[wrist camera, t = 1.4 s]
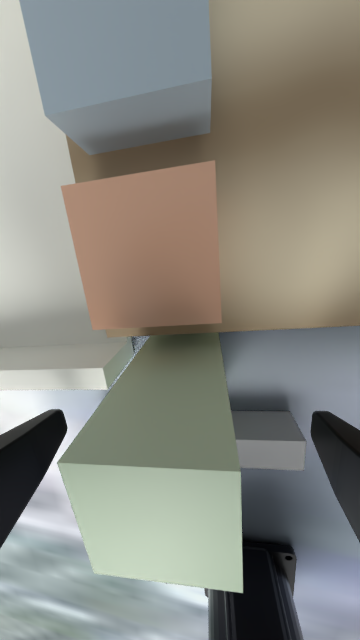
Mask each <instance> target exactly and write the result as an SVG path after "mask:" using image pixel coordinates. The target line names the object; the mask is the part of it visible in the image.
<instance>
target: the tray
mask: <svg viewBox="0 0 360 640" xmlns="http://www.w3.org/2000/svg"><path fill="white" fill-rule="evenodd" d="M69 184H75V178H74V173H73V169H72V164H71V159H70V154H69V149H68V144H67V139H66V134H65V133H64V132H63V131H62V130H60V129H59V128H58V127H57V126H56V125H55V124H54V123H53V122H51V121H50V120H49V119H48V118H47V117H46V116H45V114H44V109H43V105H42V100H41V96H40V92H39V87H38V83H37V78H36V74H35V69H34V65H33V60H32V56H31V51H30V47H29V42H28V38H27V33H26V29H25V24H24V20H23V15H22V11H21V6H20V2H19V0H0V390H108V388H109V387H110V386H111V384H112V383H113V382H114V380H115V379H116V378H117V376H118V375H119V374H120V372H121V371H122V370H123V368H124V367H125V366H126V364H127V363H128V362H129V361H130V359H131V358H132V357H133V355H134V351H133V345H132V339H131V336H130V337H109V338H107V334H106V330H105V329H103V330H93V329H92V325H91V320H90V316H89V311H88V307H87V302H86V298H85V293H84V289H83V284H82V280H81V275H80V271H79V266H78V262H77V257H76V253H75V248H74V244H73V239H72V235H71V231H70V226H69V222H68V217H67V213H66V208H65V204H64V199H63V195H62V190H61V186H63V185H69Z"/></svg>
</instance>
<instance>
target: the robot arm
mask: <svg viewBox="0 0 360 640" xmlns="http://www.w3.org/2000/svg"><path fill="white" fill-rule="evenodd" d="M66 432H67V424H66V420H65V417H64V414H63V411H62V410H60V409H51V410H48V411H46V412H44V413H42V414H40V415H38V416H36V417H35V418H33V419H31V420H29V421H27V422H25V423H23V424H21V425H19V426H17V427H15V428H13V429H11V430H9V431H7V432H6V433H4V434H2V435H0V548H1V547H2V545H3V543H4V542H5V540H6V538H7V537H8V535H9V533H10V532H11V530H12V529H13V527H14V525H15V524H16V522H17V520H18V519H19V517H20V515H21V514H22V512H23V510H24V509H25V507H26V506H27V504H28V502H29V501H30V499H31V497H32V496H33V494H34V492H35V491H36V489H37V488H38V486H39V484H40V482H41V481H42V479H43V477H44V476H45V474H46V472H47V470H48V468H49V466H50V464H51V462H52V460H53V458H54V456H55V454H56V452H57V450H58V448H59V446H60V445H61V443H62V441H63V439H64V437H65V435H66ZM311 437H312V440H313V442H314V445H315V447H316V450H317V452H318V455H319V457H320V459H321V462H322V464H323V467H324V469H325V472H326V474H327V476H328V479H329V481H330V484H331V486H332V488H333V491H334V493H335V495H336V497H337V499H338V501H339V503H340V505H341V507H342V509H343V511H344V513H345V515H346V517H347V519H348V521H349V523H350V525H351V526H352V528H353V530H354V532H355V534H356V536H357V538H358V540H359V542H360V430H358V429H357V428H355V427H353V426H352V425H350V424H348V423H347V422H345V421H344V420H342V419H340V418H339V417H337V416H335V415H334V414H332V413H330V412H328V411H314V412H313V414H312V424H311ZM296 560H297V559H296V555H295V552H294V549H293V548H292V547H290V546H286V545H275V544H265V543H254V542H244V541H242V564H243V593H238V592H231V591H223V590H215V589H208V588H205V595H206V596H207V597H208V620H209V640H304V639H303V635H302V631H301V628H300V624H299V620H298V616H297V612H296V608H295V604H294V600H293V592H294V582H295V571H296Z"/></svg>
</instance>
